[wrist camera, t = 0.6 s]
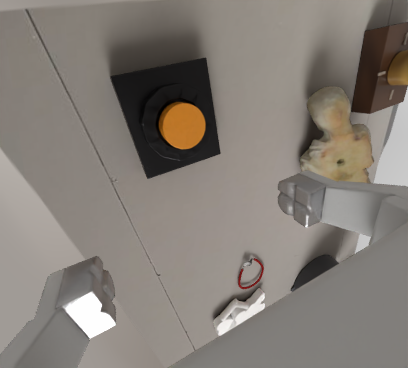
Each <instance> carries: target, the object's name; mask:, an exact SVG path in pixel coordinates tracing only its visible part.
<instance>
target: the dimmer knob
mask: <svg viewBox="0 0 408 368" xmlns="http://www.w3.org/2000/svg"><path fill="white" fill-rule="evenodd" d="M387 80H388V83H389V84H390V85H408V50H405V51H401V52H399V53H398V54H397V55H396V56H395V58H394V59H393V61H392V62H391V65H390V67H389V70H388V75H387Z"/></svg>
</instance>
